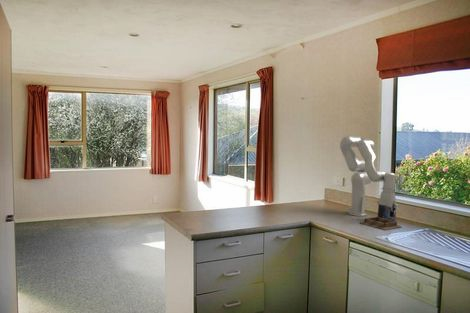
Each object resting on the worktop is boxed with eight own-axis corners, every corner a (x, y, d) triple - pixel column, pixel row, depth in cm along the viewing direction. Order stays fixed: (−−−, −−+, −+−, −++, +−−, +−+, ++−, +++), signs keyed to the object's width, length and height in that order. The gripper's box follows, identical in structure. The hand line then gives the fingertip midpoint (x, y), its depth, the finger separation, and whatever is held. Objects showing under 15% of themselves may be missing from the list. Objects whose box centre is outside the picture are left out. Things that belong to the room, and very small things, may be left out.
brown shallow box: (360, 223, 257) (360, 218, 256) (376, 221, 265) (376, 216, 265) (385, 230, 239) (385, 224, 239) (401, 227, 248) (401, 222, 247)
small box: (382, 221, 263) (383, 206, 262) (376, 219, 269) (377, 204, 268) (395, 221, 265) (397, 206, 264) (390, 218, 271) (391, 204, 270)
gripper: (374, 188, 271) (372, 213, 272) (395, 192, 256) (393, 218, 257) (381, 188, 274) (379, 212, 276) (403, 192, 259) (401, 217, 261)
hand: (386, 215), depth 266 cm, fingers closed on small box, 7 cm apart
